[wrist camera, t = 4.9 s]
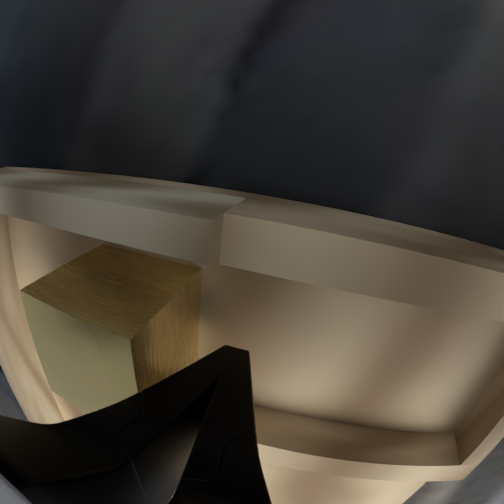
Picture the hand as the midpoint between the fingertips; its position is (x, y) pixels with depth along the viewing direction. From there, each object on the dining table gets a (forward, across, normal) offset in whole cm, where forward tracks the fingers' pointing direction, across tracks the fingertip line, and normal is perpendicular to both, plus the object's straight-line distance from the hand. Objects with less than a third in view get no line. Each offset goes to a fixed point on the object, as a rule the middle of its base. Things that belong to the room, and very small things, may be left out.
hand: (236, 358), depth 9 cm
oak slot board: (+2, +2, +5) cm, 6 cm away
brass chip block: (+1, +4, 0) cm, 4 cm away
